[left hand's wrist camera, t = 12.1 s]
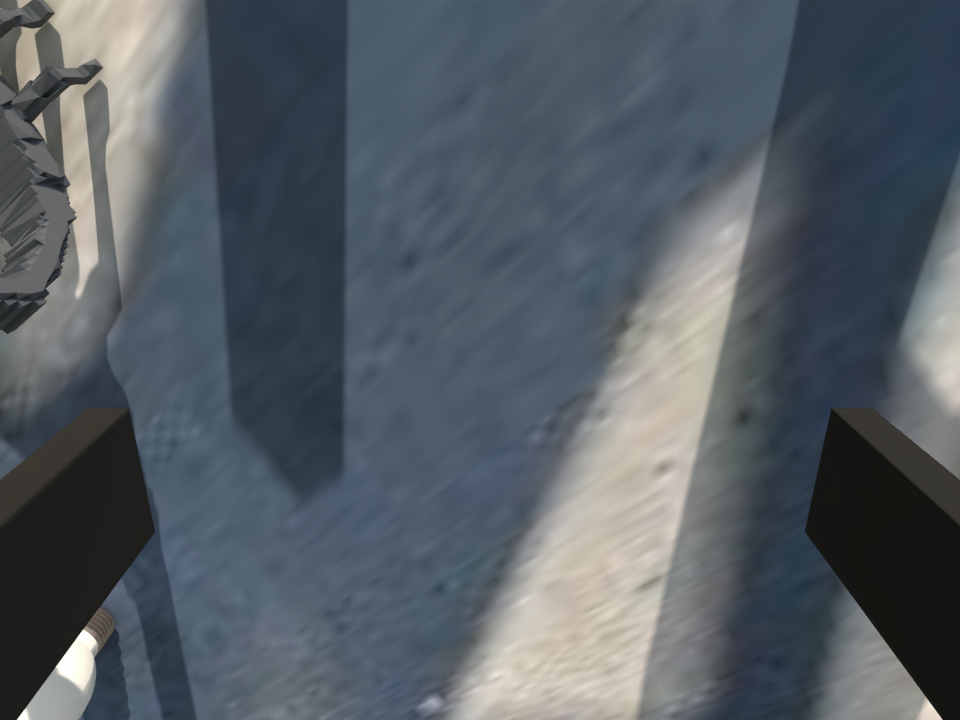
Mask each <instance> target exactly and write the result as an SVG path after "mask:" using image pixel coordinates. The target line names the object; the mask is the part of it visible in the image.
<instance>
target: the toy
mask: <svg viewBox="0 0 960 720" xmlns="http://www.w3.org/2000/svg"><path fill="white" fill-rule="evenodd" d="M53 14H54V12H53V10H52V9H51V8H50V7H49V6H48V5H47V4H46V3H45V1H44V0H32V1H30V2H29V3H28V4H26V5H25V6H24V7H22V8H19V9H6V8H0V38H1V37H3V36H4V35H5V34H6V33H7V32H8V31H10V30H11V29H12V28H13V27H17V26H22V27H27V28H38V27H42V26H43V25H44V23H45V22H46V21H47V20H48V19H49V18H50V17H51V16H52V15H53ZM102 68H103V67H102V66H101V65H100V64H99V63H98V61H97V60H96V59H94V60H91V61H89V62H87V63H85V64H83V65H81V66H79V67H78V68H55V67H53V66H47V67H46V68H45V69H44V70H43V71H42V72H41V73H40V75H39V76H38V77H37V78H36V79H35V80H34V81H29V82H28V83H27V84H26V85H25V86H24V88H23V89H22V90H21V91H20V92H19V93H18V95H17V96H16V94H17V93H16V92H15V91H14V90H13V88H12V87H11V86H10V85H9V84H8V83H7V82H6V81H5V79H4V78H3V77H2V76H1V75H0V231H1V232H2V234H0V235H1V236H2V237H3V238H4V239H5V240H7V241H8V242H9V244H10V245H11V246H12V249H11V250H10V251H8V252H7V253H6V254H5V255H4V257H5V258H6V260H5V262H6V263H7V264H6V265H5V266H4V267H3V268H2V269H1V270H2V271H3V273H2V274H1V275H0V330H3V331H4V332H5V333H7V334H8V333H10V332H12V331H14V330H16V329H17V328H18V327H19V326H20V325H21V324H22V323H24V322H25V321H26V320H27V319H28V318H29V317H30V316H32V315H33V314H34V313H35V312H36V311H37V310H38V309H39V308H41V307H42V306H43V305H44V304H45V303H46V302H47V301H46V300H45V299H44V298H45V297H46V296H47V295H48V294H49V292H48V291H47V290H46V289H45V288H46V287H48V286H49V285H50V284H51V283H52V282H53V281H54V280H55V279H57V278H58V277H59V276H60V275H61V268H63V266H62V265H61V263H62V262H63V261H64V260H65V259H64V258H63V256H64V255H65V254H66V253H67V252H66V251H65V249H66V248H67V247H68V246H69V245H68V244H67V243H66V241H68V238H67V235H68V234H69V233H70V230H69V227H68V225H69V224H70V223H72V222H73V221H74V220H75V219H76V218H77V217H76V216H75V215H74V214H75V213H76V212H75V211H74V210H73V209H72V208H71V207H70V206H69V204H70V202H69V201H68V200H67V199H69V196H68V195H67V191H66V188H67V187H68V186H69V185H70V183H69V181H68V179H67V178H66V176H65V174H64V173H63V171H62V170H61V168H60V167H59V166H58V164H57V163H56V161H55V160H54V158H53V157H52V155H51V154H50V152H49V151H48V149H47V147H48V146H47V144H46V142H45V140H44V139H43V137H42V136H41V134H40V133H39V131H38V130H37V129H36V127H35V126H34V124H32V122H33V121H34V120H35V118H36V117H37V116H38V115H39V114H40V113H41V112H42V111H43V110H44V109H45V107H46V106H47V105H48V104H49V103H50V102H51V101H53V100H54V99H55V98H56V97H57V96H59V95H60V94H61V93H62V92H63V91H64V90H66V89H67V88H68V87H69V86H71V85H74V84H87V83H88V82H89V81H90V80H91V79H92V78H93V77H94V76H95V75H96V74H97V73H98V72H99V71H100V70H101V69H102Z"/></svg>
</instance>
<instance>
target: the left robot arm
mask: <svg viewBox="0 0 960 720" xmlns="http://www.w3.org/2000/svg"><path fill="white" fill-rule="evenodd" d="M154 532H155V529H154V525H153V520H152V515H151V511H150V506H149V501H148V497H147V492H146V487H145V483H144V478H143V473H142V469H141V464H140V459H139V455H138V450H137V445H136V441H135V436H134V431H133V427H132V422H131V417H130V413H129V409H86V410H85V411H84V412H83V413H82V414H80V415H79V416H78V417H77V418H75V419H74V420H73V421H72V422H71V423H69V424H68V425H67V426H66V427H64V428H63V429H62V430H61V431H60V432H58V433H57V434H56V435H55V436H53V437H52V438H51V439H50V440H49V441H47V442H46V443H45V444H44V445H42V446H41V447H40V448H39V449H38V450H36V451H35V452H34V453H33V454H31V455H30V456H29V457H28V458H26V459H25V460H24V461H23V462H22V463H20V464H19V465H18V466H17V467H15V468H14V469H13V470H12V471H11V472H9V473H8V474H7V475H6V476H4V477H3V478H2V479H1V480H0V720H17V719H18V718H19V717H20V715H21V714H22V713H23V711H24V710H25V708H26V707H27V706H28V704H29V703H30V702H31V700H32V699H33V697H34V696H35V695H36V693H37V692H38V691H39V689H40V688H41V687H42V685H43V684H44V682H45V681H46V680H47V678H48V677H49V676H50V674H51V673H52V672H53V670H54V669H55V667H56V666H57V665H58V663H59V662H60V661H61V659H62V658H63V657H64V655H65V654H66V652H67V651H68V650H69V648H70V647H71V646H72V644H73V643H74V642H75V640H76V639H77V637H78V636H79V635H80V633H81V632H82V631H83V629H84V628H85V627H86V625H87V624H88V622H89V621H90V620H91V618H92V617H93V616H94V614H95V613H96V612H97V610H98V609H99V607H100V606H101V605H102V603H103V602H104V601H105V599H106V598H107V596H108V595H109V594H110V592H111V591H112V590H113V588H114V587H115V586H116V584H117V583H118V581H119V580H120V579H121V577H122V576H123V575H124V573H125V572H126V571H127V569H128V568H129V566H130V565H131V564H132V562H133V561H134V560H135V558H136V557H137V556H138V554H139V553H140V551H141V550H142V549H143V547H144V546H145V545H146V543H147V542H148V541H149V539H150V538H151V536H152V535H153V534H154ZM805 532H806V534H807V535H808V536H809V538H810V539H811V541H812V542H813V543H814V545H815V546H816V547H817V549H818V550H819V551H820V553H821V554H822V556H823V557H824V558H825V560H826V561H827V562H828V564H829V565H830V566H831V568H832V569H833V571H834V572H835V573H836V575H837V576H838V577H839V579H840V580H841V581H842V583H843V584H844V586H845V587H846V588H847V590H848V591H849V592H850V594H851V595H852V596H853V598H854V599H855V601H856V602H857V603H858V605H859V606H860V607H861V609H862V610H863V612H864V613H865V614H866V616H867V617H868V618H869V620H870V621H871V622H872V624H873V625H874V627H875V628H876V629H877V631H878V632H879V633H880V635H881V636H882V637H883V639H884V640H885V642H886V643H887V644H888V646H889V647H890V648H891V650H892V651H893V652H894V654H895V655H896V657H897V658H898V659H899V661H900V662H901V663H902V665H903V666H904V667H905V669H906V670H907V672H908V673H909V674H910V676H911V677H912V678H913V680H914V681H915V682H916V684H917V685H918V687H919V688H920V689H921V691H922V692H923V693H924V695H925V696H926V697H927V699H928V700H929V702H930V703H931V704H932V706H933V707H934V708H935V710H936V711H937V713H938V714H939V715H940V717H941V718H942V719H943V720H960V480H959V479H958V478H957V477H956V476H954V475H953V474H952V473H951V472H949V471H948V470H947V469H946V468H945V467H943V466H942V465H941V464H940V463H938V462H937V461H936V460H935V459H934V458H932V457H931V456H930V455H929V454H927V453H926V452H925V451H924V450H922V449H921V448H920V447H919V446H918V445H916V444H915V443H914V442H913V441H911V440H910V439H909V438H908V437H907V436H905V435H904V434H903V433H902V432H900V431H899V430H898V429H897V428H896V427H894V426H893V425H892V424H891V423H889V422H888V421H887V420H886V419H885V418H883V417H882V416H881V415H880V414H878V413H877V412H876V411H875V410H874V409H831V413H830V417H829V422H828V427H827V431H826V436H825V441H824V445H823V450H822V455H821V459H820V464H819V469H818V473H817V478H816V483H815V487H814V492H813V497H812V501H811V506H810V511H809V515H808V520H807V525H806V529H805Z"/></svg>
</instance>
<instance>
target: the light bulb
mask: <svg viewBox="0 0 960 720" xmlns="http://www.w3.org/2000/svg"><path fill="white" fill-rule="evenodd" d="M114 627H115V624H114V621H113V619H112V617H111V616H110V615H109V614H108V613H107V612H105V611H104V610H102V609H100V608H99V609H98V610H97V612H96V613H95V614H94V616H93V617H92V618H91V620H90V621H89V622H88V624H87V625H86V627H85V628H84V629H83V631H82V632H81V633H80V635H79V636H78V637H77V639H76V640H75V642H74V643H73V644H72V646H71V647H70V648H69V650H68V651H67V652H66V654H65V655H64V657H63V658H62V659H61V661H60V662H59V663H58V665H57V666H56V667H55V669H54V670H53V672H52V673H51V674H50V676H49V677H48V678H47V680H46V681H45V682H44V684H43V685H42V687H41V688H40V689H39V691H38V692H37V693H36V695H35V696H34V697H33V699H32V700H31V702H30V703H29V704H28V706H27V707H26V708H25V710H24V711H23V713H22V714H21V715H20V717H19V718H18V719H17V720H78V719H79V718H80V717H81V715H82V714H83V712H84V710H85V708H86V706H87V705H88V703H89V701H90V699H91V696H92V693H93V690H94V686H95V680H96V665H95V660H94V658H95V656H96V655H97V654H98V653H99V652H100V650H101V649H102V647H103V646H104V644H105V643H106V641H107V640H108V638H109V637H110V635H111V634H112V633H113V631H114Z"/></svg>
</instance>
